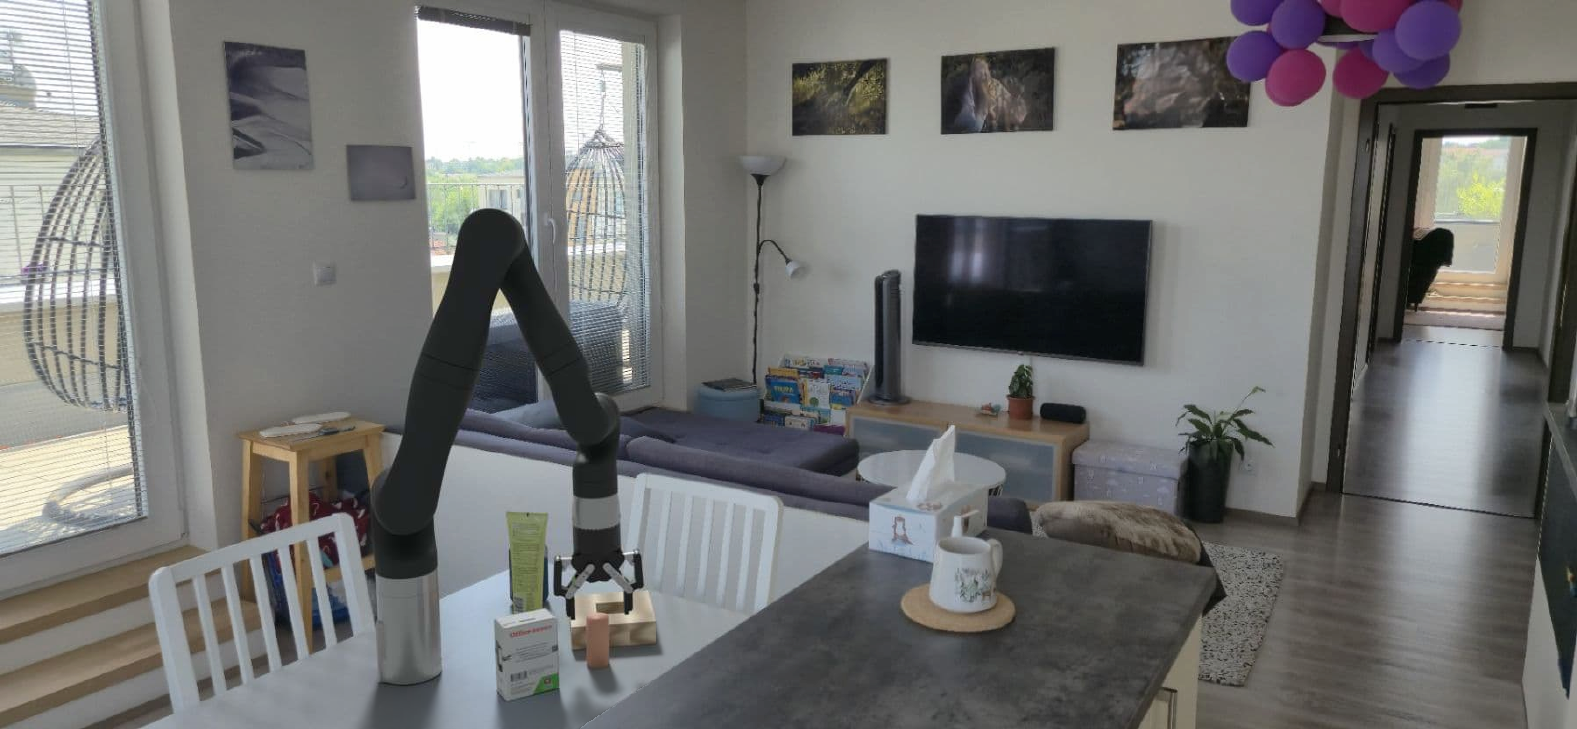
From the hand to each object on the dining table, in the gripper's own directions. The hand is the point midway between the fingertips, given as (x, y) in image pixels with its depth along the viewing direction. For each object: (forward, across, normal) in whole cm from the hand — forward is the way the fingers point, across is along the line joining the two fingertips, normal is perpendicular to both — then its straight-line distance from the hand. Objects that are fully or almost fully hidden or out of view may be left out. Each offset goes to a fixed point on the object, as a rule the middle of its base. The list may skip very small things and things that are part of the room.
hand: (599, 615), depth 179 cm
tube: (+8, +11, -21) cm, 25 cm away
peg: (+8, +1, +1) cm, 8 cm away
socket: (+8, -3, -12) cm, 15 cm away
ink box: (+8, +12, +7) cm, 16 cm away
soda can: (+8, +11, -28) cm, 31 cm away
